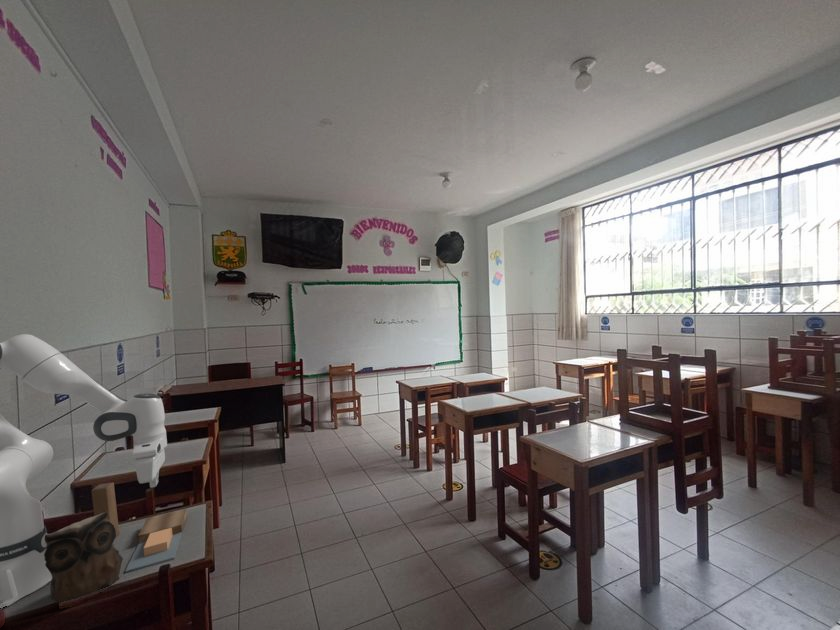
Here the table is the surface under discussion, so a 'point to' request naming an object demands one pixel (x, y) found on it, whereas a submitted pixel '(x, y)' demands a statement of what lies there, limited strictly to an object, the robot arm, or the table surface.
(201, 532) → the table surface
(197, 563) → the table surface
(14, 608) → the table surface
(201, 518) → the table surface
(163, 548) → the tile
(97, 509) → the wooden block
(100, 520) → the owl
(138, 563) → the mat
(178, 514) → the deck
